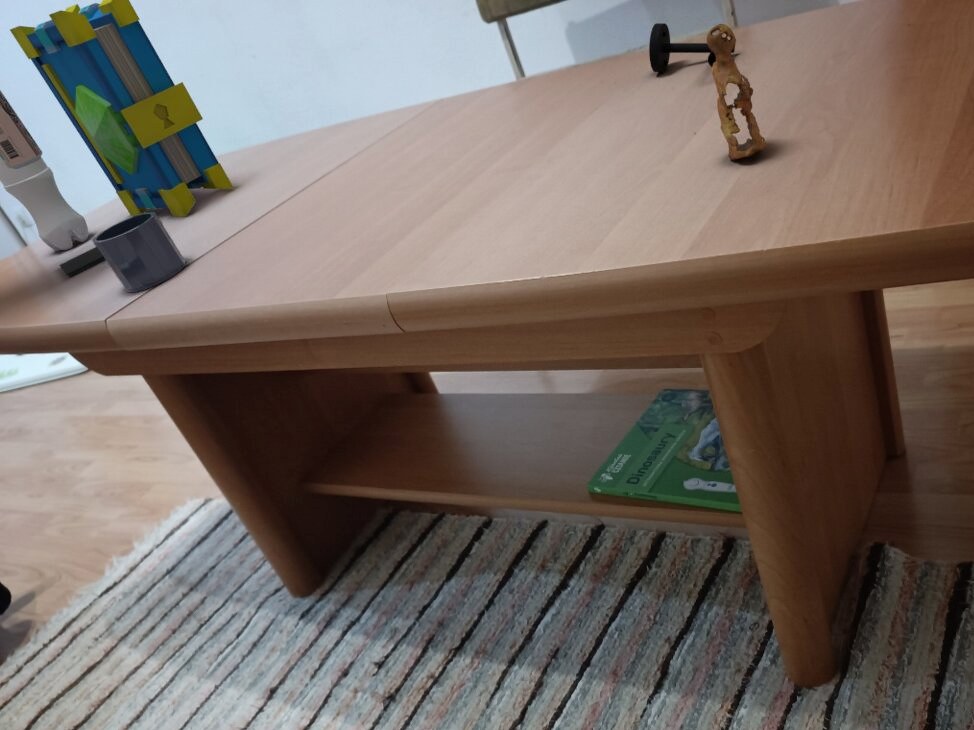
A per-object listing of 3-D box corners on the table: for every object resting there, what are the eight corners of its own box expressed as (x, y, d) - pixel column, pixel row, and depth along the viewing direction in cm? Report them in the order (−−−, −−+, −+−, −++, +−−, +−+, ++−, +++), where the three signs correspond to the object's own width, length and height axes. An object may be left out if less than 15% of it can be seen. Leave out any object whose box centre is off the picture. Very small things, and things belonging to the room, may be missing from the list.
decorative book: (177, 223, 132) (47, 15, 114) (114, 221, 146) (-9, 36, 129) (251, 181, 139) (141, -21, 122) (185, 183, 154) (77, 3, 136)
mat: (70, 277, 125) (67, 273, 125) (61, 268, 131) (59, 264, 131) (122, 251, 128) (119, 247, 128) (112, 243, 134) (109, 240, 134)
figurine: (776, 138, 85) (753, 8, 78) (764, 162, 81) (738, 28, 74) (731, 146, 87) (704, 20, 80) (717, 170, 83) (687, 40, 76)
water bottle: (59, 256, 138) (-55, 99, 124) (46, 252, 143) (-64, 101, 129) (100, 234, 141) (-5, 79, 127) (87, 231, 146) (-16, 82, 132)
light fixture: (715, 50, 104) (738, 16, 112) (631, 50, 107) (660, 17, 116) (716, 100, 108) (739, 63, 116) (635, 98, 111) (663, 63, 120)
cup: (133, 297, 108) (98, 246, 104) (121, 285, 114) (87, 237, 110) (192, 266, 111) (161, 215, 107) (177, 256, 117) (146, 208, 113)
